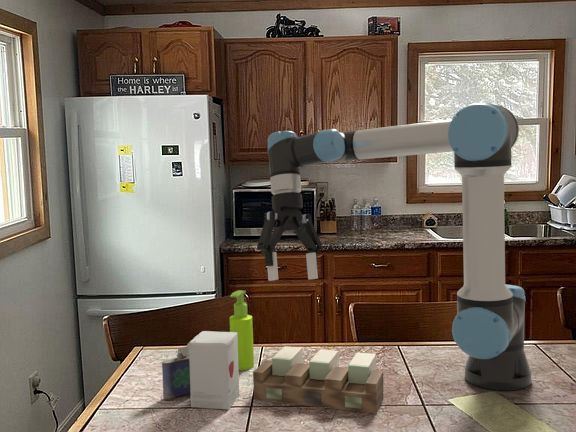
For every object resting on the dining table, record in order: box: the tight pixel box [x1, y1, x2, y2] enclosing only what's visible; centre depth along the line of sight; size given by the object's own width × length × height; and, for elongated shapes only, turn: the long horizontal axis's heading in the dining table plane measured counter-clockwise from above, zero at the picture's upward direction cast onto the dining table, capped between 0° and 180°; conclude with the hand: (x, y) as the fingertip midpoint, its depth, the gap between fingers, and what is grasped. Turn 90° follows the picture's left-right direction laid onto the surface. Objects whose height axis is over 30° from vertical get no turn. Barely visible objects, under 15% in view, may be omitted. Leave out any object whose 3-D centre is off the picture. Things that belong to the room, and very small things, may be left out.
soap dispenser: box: [228, 289, 255, 371], centre depth 165 cm, size 6×7×20 cm
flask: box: [161, 349, 191, 402], centre depth 148 cm, size 9×3×11 cm, turn 121°
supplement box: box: [188, 330, 240, 410], centre depth 144 cm, size 9×9×15 cm
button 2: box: [347, 352, 377, 384], centre depth 146 cm, size 4×9×4 cm, turn 161°
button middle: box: [308, 348, 340, 380], centre depth 149 cm, size 4×9×4 cm, turn 161°
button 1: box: [271, 345, 304, 376], centre depth 151 cm, size 4×9×4 cm, turn 161°
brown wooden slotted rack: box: [252, 359, 384, 415], centre depth 144 cm, size 28×8×6 cm, turn 71°
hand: (293, 279), depth 156 cm, fingers open, 13 cm apart
